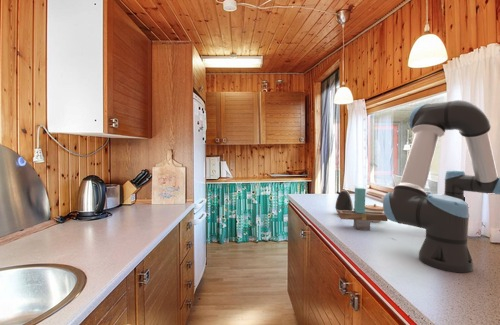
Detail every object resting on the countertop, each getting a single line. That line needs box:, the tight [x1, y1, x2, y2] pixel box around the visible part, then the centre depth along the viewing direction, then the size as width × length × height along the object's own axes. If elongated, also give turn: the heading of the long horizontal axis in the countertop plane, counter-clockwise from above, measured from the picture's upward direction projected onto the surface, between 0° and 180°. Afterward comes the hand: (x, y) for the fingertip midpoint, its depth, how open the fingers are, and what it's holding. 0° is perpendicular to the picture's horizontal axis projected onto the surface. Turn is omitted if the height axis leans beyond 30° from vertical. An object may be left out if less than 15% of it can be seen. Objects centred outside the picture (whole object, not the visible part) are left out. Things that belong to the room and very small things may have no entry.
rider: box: [353, 187, 366, 213], centre depth 133 cm, size 6×4×15 cm, turn 174°
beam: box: [337, 210, 389, 231], centre depth 133 cm, size 7×22×8 cm, turn 84°
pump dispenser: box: [334, 189, 354, 214], centre depth 162 cm, size 10×10×15 cm
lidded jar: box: [365, 203, 384, 223], centre depth 149 cm, size 11×11×9 cm
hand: (381, 199), depth 132 cm, fingers closed
